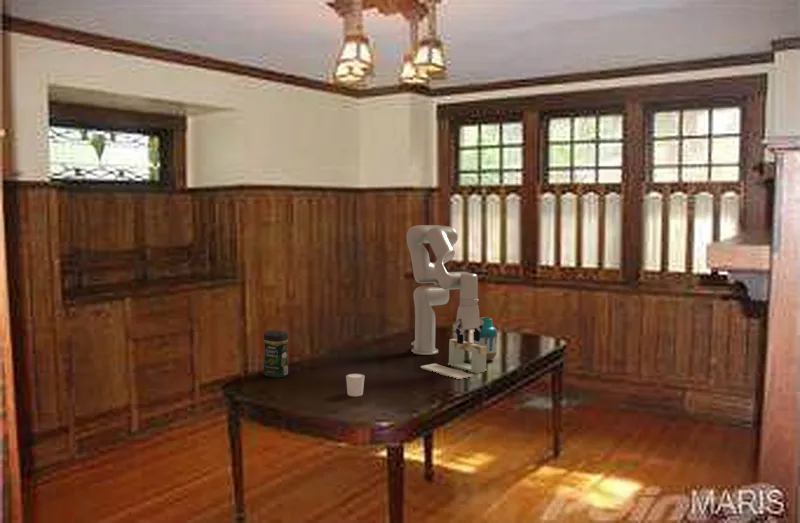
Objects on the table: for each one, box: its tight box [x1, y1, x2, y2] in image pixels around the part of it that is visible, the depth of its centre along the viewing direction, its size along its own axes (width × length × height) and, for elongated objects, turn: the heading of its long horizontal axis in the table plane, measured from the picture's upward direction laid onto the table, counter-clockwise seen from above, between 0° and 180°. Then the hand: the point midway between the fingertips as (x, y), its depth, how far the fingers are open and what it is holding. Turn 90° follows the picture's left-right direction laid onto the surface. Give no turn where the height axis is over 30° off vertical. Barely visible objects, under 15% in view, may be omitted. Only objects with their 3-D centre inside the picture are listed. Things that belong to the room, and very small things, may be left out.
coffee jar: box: [262, 329, 289, 379], centre depth 280 cm, size 10×8×19 cm
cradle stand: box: [447, 343, 488, 374], centre depth 296 cm, size 18×6×10 cm, turn 38°
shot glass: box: [345, 373, 365, 397], centre depth 255 cm, size 7×7×7 cm
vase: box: [473, 316, 499, 362], centre depth 311 cm, size 11×11×19 cm
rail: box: [448, 338, 487, 355], centre depth 295 cm, size 20×3×3 cm, turn 38°
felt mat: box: [420, 363, 474, 380], centre depth 289 cm, size 24×8×1 cm, turn 38°
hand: (468, 342), depth 295 cm, fingers open, 9 cm apart
